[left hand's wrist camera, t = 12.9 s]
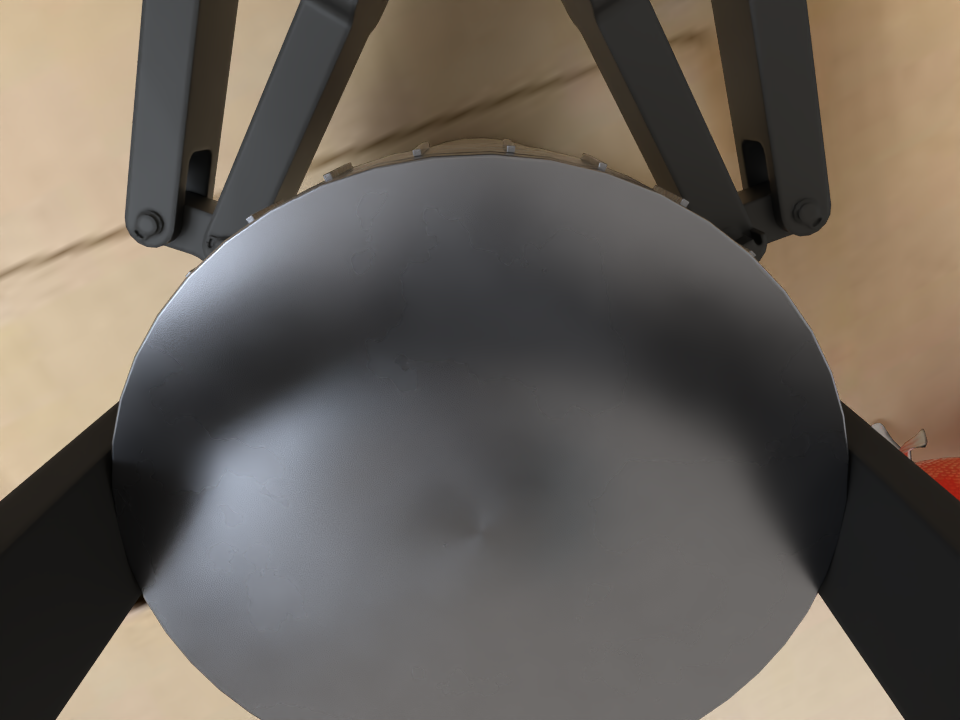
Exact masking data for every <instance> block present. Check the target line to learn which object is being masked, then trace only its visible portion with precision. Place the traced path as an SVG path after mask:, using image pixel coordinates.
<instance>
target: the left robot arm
mask: <svg viewBox="0 0 960 720" xmlns="http://www.w3.org/2000/svg"><path fill="white" fill-rule="evenodd" d="M840 403H841V406H842V410H843V413H844V419H845V428H846V436H847V445H848V453H849V472H848V495H847V504H846V509H845V514H844V518H843V522H842V526H841V531H840V535H839V539H838V543H837V547H836V550H835V553H834V556H833V559H832V562H831V564H830V567H829V570H828V573H827V576H826V578H825V580H824V582H823V584H822V586H821V588H820V590H819V591H818V593H819V595H820V596H821V598H822V599H823V600H824V602H825V603H826V605H827V606H828V608H829V609H830V611H831V612H832V614H833V615H834V617H835V618H836V620H837V621H838V622H839V624H840V625H841V627H842V628H843V630H844V631H845V633H846V634H847V636H848V637H849V639H850V640H851V642H852V643H853V644H854V646H855V647H856V649H857V650H858V652H859V653H860V655H861V656H862V658H863V659H864V661H865V662H866V664H867V665H868V666H869V668H870V669H871V671H872V672H873V674H874V675H875V677H876V678H877V680H878V681H879V683H880V684H881V686H882V687H883V688H884V690H885V691H886V693H887V694H888V696H889V697H890V699H891V700H892V702H893V703H894V705H895V706H896V708H897V709H898V710H899V712H900V713H901V715H902V716H903V718H904V719H905V720H960V501H959V500H958V499H957V498H956V497H954V496H953V495H952V494H951V493H950V492H948V491H947V490H946V489H945V488H944V487H943V486H941V485H940V484H939V483H938V482H937V481H935V480H934V479H933V478H932V477H931V476H929V475H928V474H927V473H926V472H925V471H924V470H922V469H921V468H920V467H919V466H918V465H916V464H915V463H914V462H913V461H912V460H910V459H909V458H908V457H907V456H906V455H905V454H903V453H902V452H901V451H900V450H899V449H897V448H896V447H895V446H894V445H893V444H892V443H890V442H889V441H888V440H887V439H886V438H884V437H883V436H882V435H881V434H880V433H878V432H877V431H876V430H875V429H874V428H873V427H871V426H870V425H869V424H868V423H867V422H865V421H864V420H863V419H862V418H861V417H859V416H858V415H857V414H856V413H855V412H854V411H852V410H851V409H850V408H849V407H848V406H846V405H845V404H844V403H843V402H842V401H840ZM118 406H119V402H118V403H116V404H115V405H114V406H113V407H112V408H110V409H109V410H108V411H107V412H106V413H104V414H103V415H102V416H101V417H100V418H99V419H97V420H96V421H95V422H94V423H93V424H91V425H90V426H89V427H88V428H87V429H85V430H84V431H83V432H82V433H81V434H80V435H78V436H77V437H76V438H75V439H74V440H72V441H71V442H70V443H69V444H68V445H67V446H65V447H64V448H63V449H62V450H61V451H59V452H58V453H57V454H56V455H55V456H53V457H52V458H51V459H50V460H49V461H48V462H46V463H45V464H44V465H43V466H42V467H40V468H39V469H38V470H37V471H36V472H34V473H33V474H32V475H31V476H30V477H29V478H27V479H26V480H25V481H24V482H23V483H21V484H20V485H19V486H18V487H17V488H15V489H14V490H13V491H12V492H11V493H10V494H8V495H7V496H6V497H5V498H4V499H2V500H1V501H0V720H56V718H57V717H58V715H59V714H60V712H61V711H62V710H63V708H64V707H65V705H66V704H67V702H68V701H69V699H70V698H71V696H72V695H73V693H74V692H75V690H76V689H77V688H78V686H79V685H80V683H81V682H82V680H83V679H84V677H85V676H86V674H87V673H88V671H89V670H90V668H91V667H92V666H93V664H94V663H95V661H96V660H97V658H98V657H99V655H100V654H101V652H102V651H103V649H104V648H105V646H106V645H107V644H108V642H109V641H110V639H111V638H112V636H113V635H114V633H115V632H116V630H117V629H118V627H119V626H120V624H121V623H122V622H123V620H124V619H125V617H126V616H127V614H128V613H129V611H130V610H131V608H132V607H133V605H134V604H135V602H136V601H137V600H138V598H139V597H140V595H141V594H142V592H141V590H140V588H139V586H138V583H137V581H136V579H135V577H134V575H133V572H132V570H131V568H130V566H129V564H128V561H127V557H126V554H125V550H124V546H123V542H122V538H121V534H120V531H119V527H118V522H117V518H116V513H115V507H114V500H113V493H112V486H111V472H112V440H113V434H114V428H115V423H116V417H117V412H118Z"/></svg>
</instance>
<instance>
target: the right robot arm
mask: <svg viewBox="0 0 960 720" xmlns="http://www.w3.org/2000/svg"><path fill="white" fill-rule="evenodd" d="M388 1H389V0H301V1H300V4H299V6H298V9H297V11H296V13H295V16H294V18H293V21H292V23H291V26H290V28H289V30H288V33H287V35H286V38H285V40H284V43H283V45H282V47H281V50H280V52H279V55H278V57H277V59H276V62H275V64H274V67H273V69H272V72H271V74H270V76H269V79H268V81H267V84H266V86H265V89H264V91H263V93H262V96H261V98H260V101H259V103H258V106H257V108H256V110H255V113H254V115H253V118H252V120H251V123H250V125H249V127H248V130H247V132H246V135H245V137H244V139H243V142H242V144H241V147H240V149H239V152H238V154H237V156H236V159H235V161H234V164H233V166H232V169H231V171H230V173H229V176H228V178H227V181H226V183H225V186H224V188H223V190H222V193H221V195H220V198H219V200H218V201H215V200H212V199H213V192H214V184H215V176H216V169H217V161H218V153H219V146H220V138H221V130H222V123H223V115H224V107H225V100H226V92H227V84H228V77H229V69H230V61H231V54H232V46H233V38H234V31H235V23H236V16H237V8H238V0H143V3H142V15H141V28H140V40H139V52H138V64H137V76H136V88H135V100H134V112H133V125H132V137H131V149H130V161H129V173H128V185H127V197H126V209H125V223H126V228H127V230H128V231H129V233H130V235H131V236H132V237H133V238H134V239H135V240H136V241H137V242H138V243H140V244H142V245H144V246H146V247H155V248H157V247H160V246H163V245H164V246H168V247H171V248H174V249H177V250H180V251H183V252H186V253H189V254H192V255H194V256H196V257H198V258H200V259H201V260H202V261H204V260H205V259H206V258H207V257H208V256H209V255H210V254H211V253H212V252H213V251H214V250H215V249H216V248H217V247H219V246H220V245H221V244H222V243H223V242H224V241H225V240H226V239H228V238H229V237H231V236H232V235H233V234H235V233H236V232H238V231H239V230H241V229H242V228H243V227H245V226H246V225H248V224H249V223H248V221H247V220H246V218H248V217H249V216H250V215H252V214H254V213H256V212H258V211H260V210H262V209H264V208H266V207H268V206H270V205H272V204H274V203H276V202H278V201H280V200H282V199H283V201H284V202H285V201H286V200H288V199H290V198H292V197H294V196H296V195H297V192H298V190H299V188H300V186H301V184H302V181H303V179H304V177H305V175H306V173H307V170H308V168H309V166H310V164H311V162H312V159H313V157H314V155H315V153H316V151H317V148H318V146H319V144H320V142H321V140H322V137H323V135H324V133H325V131H326V129H327V126H328V124H329V122H330V120H331V118H332V115H333V113H334V111H335V109H336V107H337V104H338V102H339V100H340V98H341V96H342V93H343V91H344V89H345V87H346V85H347V82H348V80H349V78H350V76H351V74H352V71H353V69H354V67H355V65H356V63H357V60H358V58H359V56H360V54H361V52H362V49H363V47H364V45H365V43H366V41H367V39H368V37H369V35H370V33H371V32H372V31H373V29H374V28H375V27H376V25H377V24H378V22H379V20H380V18H381V16H382V14H383V12H384V9H385V7H386V5H387V3H388ZM561 1H562V3H563V5H564V7H565V9H566V11H567V13H568V15H569V16H570V18H571V20H572V21H573V23H574V24H575V25H576V27H577V28H578V29H579V30H580V32H581V34H582V36H583V38H584V40H585V42H586V43H587V45H588V47H589V49H590V51H591V53H592V55H593V57H594V59H595V61H596V63H597V65H598V67H599V69H600V71H601V73H602V75H603V77H604V79H605V81H606V83H607V85H608V87H609V89H610V91H611V93H612V95H613V97H614V99H615V101H616V103H617V105H618V107H619V109H620V111H621V113H622V115H623V117H624V119H625V121H626V123H627V125H628V127H629V129H630V131H631V133H632V135H633V137H634V139H635V141H636V143H637V145H638V147H639V149H640V151H641V153H642V155H643V157H644V159H645V161H646V163H647V165H648V167H649V169H650V171H651V173H652V175H653V177H654V179H655V181H656V183H657V185H658V186H659V187H661V188H663V189H665V190H667V191H669V192H671V193H673V194H675V195H677V196H679V197H682V198H684V199H685V200H687V201H689V204H688V205H687V207H686V208H687V209H689V210H691V211H692V212H694V213H696V214H698V215H699V216H701V217H703V218H705V219H706V220H708V221H710V222H711V223H712V224H713V225H715V226H716V227H717V228H719V229H720V230H721V231H722V232H724V233H725V234H726V235H728V236H729V237H730V238H731V239H733V240H734V241H735V242H737V243H739V244H741V245H742V246H744V247H746V248H748V249H750V250H751V251H752V252H753V253H754V254H755V255H756V256H755V257H754V258H755V259H756V260H757V261H758V262H759V261H760V260H761V258H762V256H763V255H764V253H765V251H766V246H767V243H770V242H773V241H775V240H778V239H781V238H784V237H786V236H789V235H792V234H794V235H798V236H807V235H811V234H813V233H815V232H817V231H819V230H820V229H821V228H822V227H823V226H824V225H825V224H826V222H827V220H828V218H829V216H830V211H831V201H830V192H829V184H828V176H827V167H826V159H825V151H824V143H823V134H822V126H821V118H820V109H819V101H818V93H817V84H816V76H815V68H814V60H813V51H812V43H811V35H810V26H809V18H808V10H807V2H806V0H711V2H712V8H713V14H714V20H715V26H716V32H717V38H718V44H719V49H720V55H721V61H722V67H723V73H724V79H725V85H726V91H727V97H728V103H729V109H730V115H731V121H732V127H733V133H734V138H735V144H736V150H737V156H738V162H739V168H740V174H741V180H742V186H743V190H742V191H739V192H737V191H736V188H735V186H734V184H733V182H732V180H731V178H730V175H729V173H728V171H727V169H726V167H725V164H724V162H723V160H722V158H721V156H720V154H719V151H718V149H717V147H716V145H715V143H714V140H713V138H712V136H711V134H710V132H709V130H708V127H707V125H706V123H705V121H704V119H703V116H702V114H701V112H700V110H699V108H698V106H697V103H696V101H695V99H694V97H693V95H692V92H691V90H690V88H689V86H688V84H687V82H686V79H685V77H684V75H683V73H682V71H681V68H680V66H679V64H678V62H677V60H676V58H675V55H674V53H673V51H672V49H671V47H670V44H669V42H668V40H667V38H666V36H665V34H664V31H663V29H662V27H661V25H660V23H659V20H658V18H657V16H656V14H655V12H654V10H653V7H652V5H651V3H650V1H649V0H561Z"/></svg>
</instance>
